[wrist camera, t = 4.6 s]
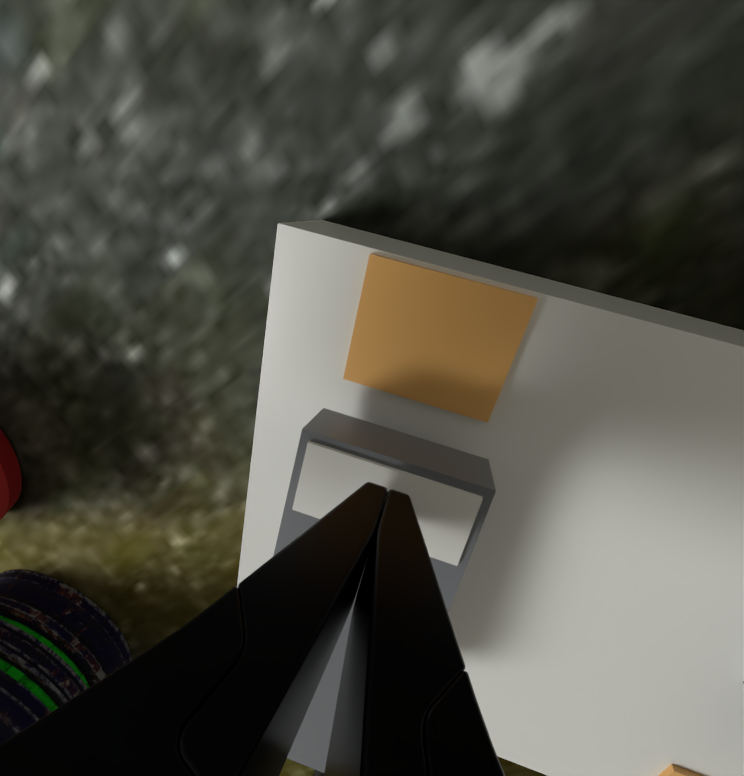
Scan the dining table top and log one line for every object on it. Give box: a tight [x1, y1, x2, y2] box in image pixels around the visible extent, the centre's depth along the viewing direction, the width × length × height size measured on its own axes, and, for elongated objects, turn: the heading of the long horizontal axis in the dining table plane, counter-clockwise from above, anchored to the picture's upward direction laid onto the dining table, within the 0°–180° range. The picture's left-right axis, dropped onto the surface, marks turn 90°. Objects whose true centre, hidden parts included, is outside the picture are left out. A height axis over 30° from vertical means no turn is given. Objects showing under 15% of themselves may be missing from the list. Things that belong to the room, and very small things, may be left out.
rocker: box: [273, 408, 496, 773], centre depth 10 cm, size 9×4×2 cm, turn 166°
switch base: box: [237, 220, 744, 776], centre depth 12 cm, size 16×20×4 cm
